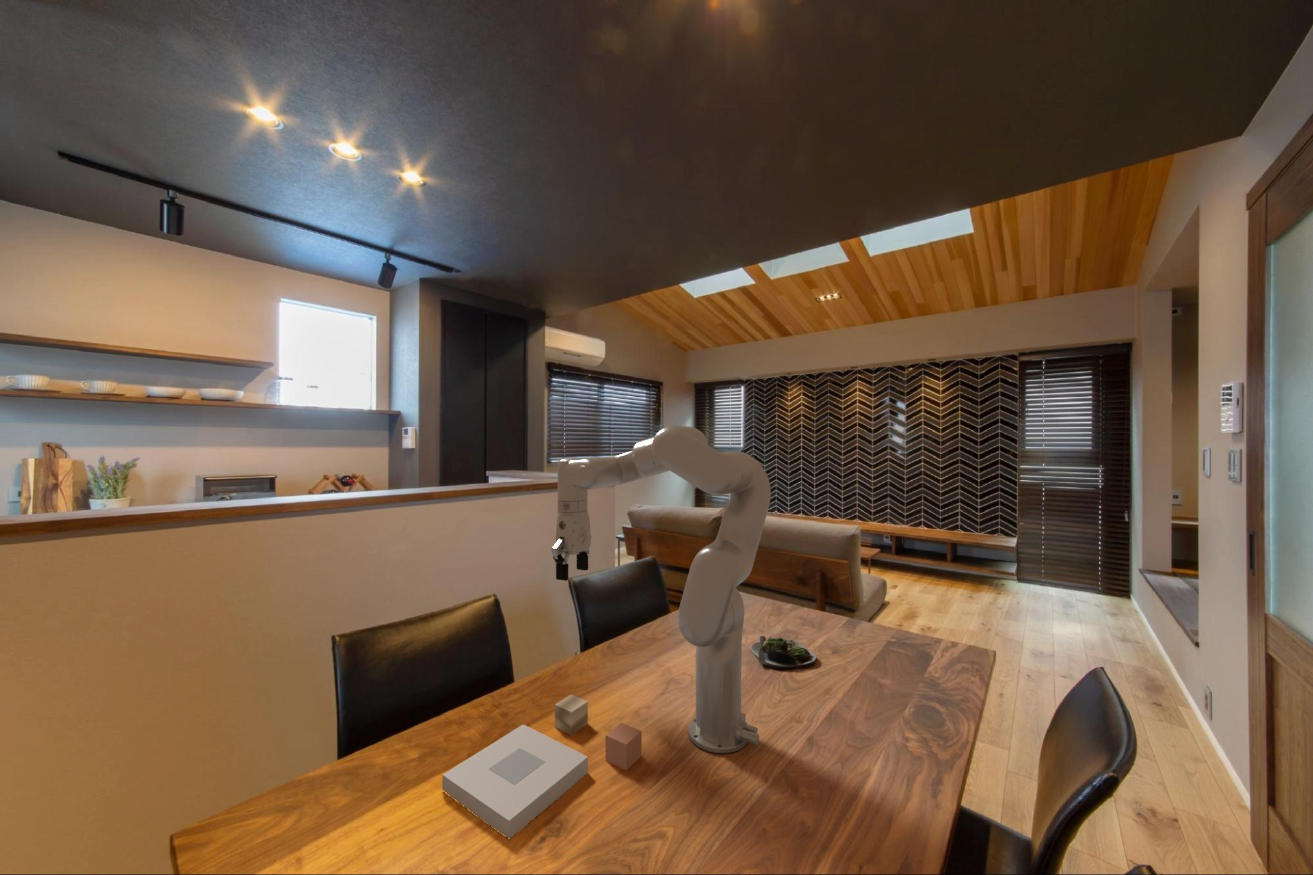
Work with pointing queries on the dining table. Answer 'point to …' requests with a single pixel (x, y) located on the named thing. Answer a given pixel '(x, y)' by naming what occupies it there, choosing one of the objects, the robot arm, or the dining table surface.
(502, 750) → the grey base
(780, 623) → the dining table surface
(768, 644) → the salad plate
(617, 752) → the terracotta cube
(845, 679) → the dining table surface
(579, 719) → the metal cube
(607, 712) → the dining table surface
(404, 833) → the dining table surface
